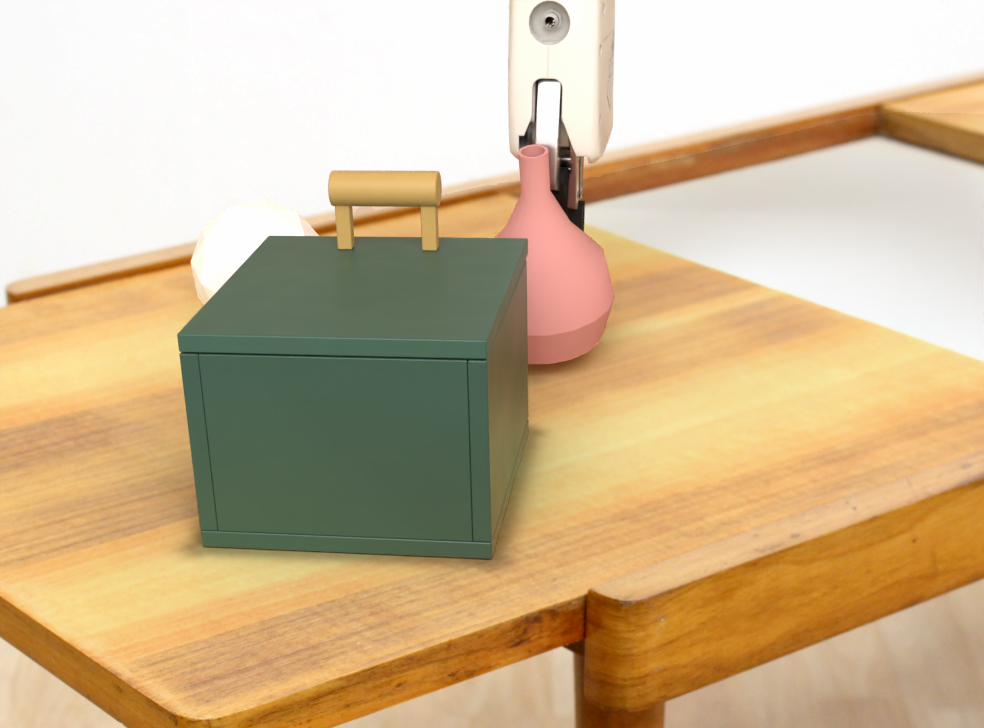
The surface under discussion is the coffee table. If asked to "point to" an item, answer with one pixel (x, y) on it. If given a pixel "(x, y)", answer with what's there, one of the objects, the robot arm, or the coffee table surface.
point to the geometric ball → (239, 240)
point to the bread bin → (359, 447)
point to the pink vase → (557, 269)
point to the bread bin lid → (365, 285)
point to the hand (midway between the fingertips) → (553, 271)
